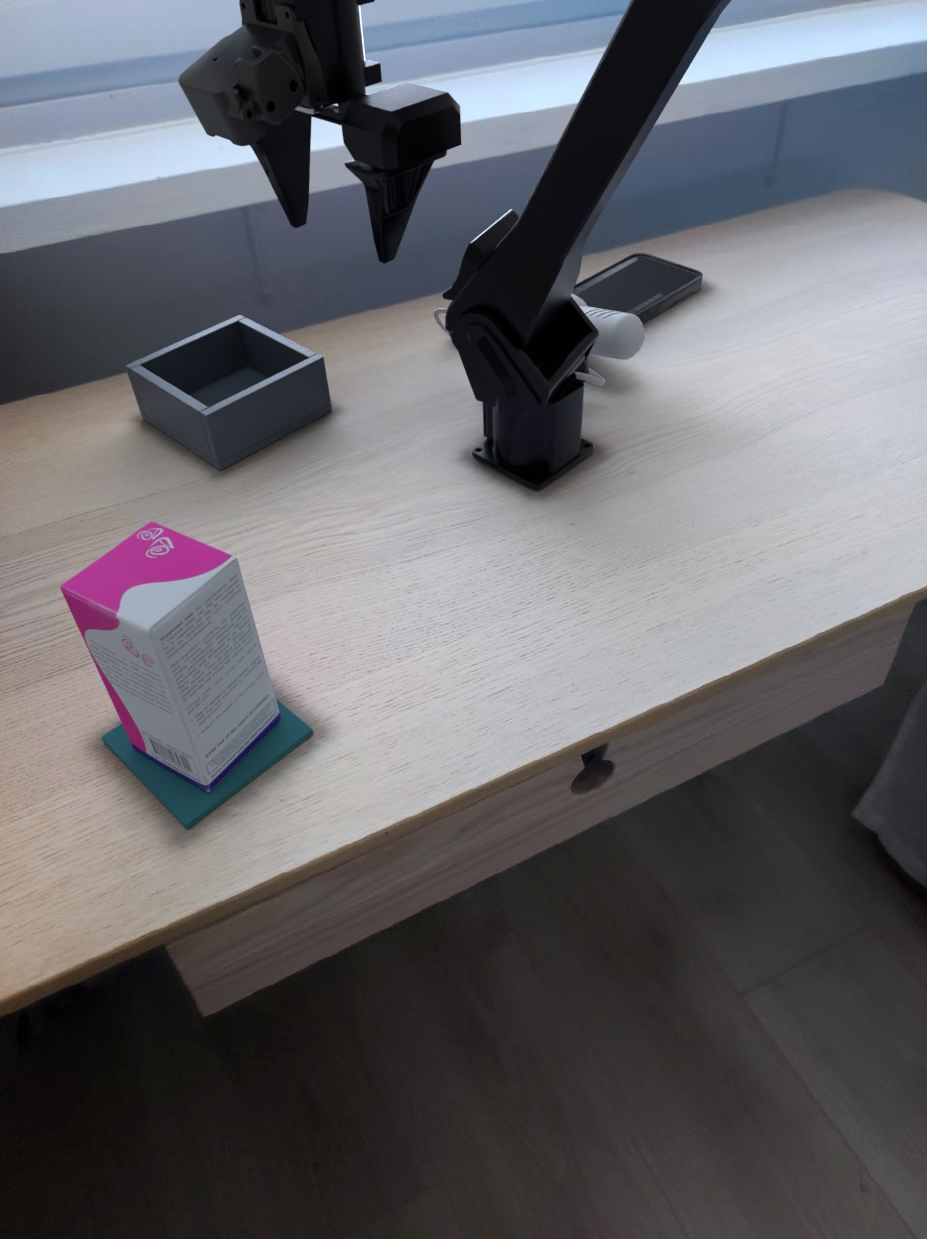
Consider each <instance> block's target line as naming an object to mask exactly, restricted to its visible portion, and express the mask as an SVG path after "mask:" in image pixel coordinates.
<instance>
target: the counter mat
mask: <svg viewBox="0 0 927 1239" xmlns="http://www.w3.org/2000/svg"><path fill="white" fill-rule="evenodd" d="M276 701H277V705H278V709H279V712H280V716H281V718H280V720H279V722H278V723H277V724H276V725H275V726H274V727H273V728H272V729H271V730H270V731H269V732H268V733H267V734H266V735H265V737H264V738H263V739H262V740H261V741H260V742H259V743H258V744H257V745H256V746H254V747H253V748H252V749H251V751H250V752H249V753H248V754H247V755H246V756H245V757H244V758H243V759H242V760H241V761H240V762H239V763H238V764H237V765H236V766H235V767H234V768H233V769H232V770H231V771H230V772H229V773H228V775H227V776H226V777H225V778H224V779H223V780H222V781H221V782H220V783H219V784H218V785H217V786H216V787H215V788H214V789H212V791H211V792H209V793H208V792H206V791H204V790H203V789H201V788H199V787H198V786H196V785H194V784H192V783H191V782H189V781H187V780H185V779H184V778H182V777H180V776H178V775H177V774H175V773H173V772H172V771H170V770H168V769H166V768H165V767H163V766H161V765H159V764H158V763H156V762H154V761H153V760H151V759H149V758H148V757H146V756H144V755H143V754H141V753H139V752H138V751H136V750H135V749H134V748H133V747H132V745H131V742H130V740H129V737H128V735H127V733H126V731H125V729H124V726H123V724H122V723H120V724H119V725H117V726H116V727H114V728H112V729H111V730H109V731H108V732H107V733H105V734H104V735H102V736H101V740H102V742H103V743H104V744H105V745H106V746H107V747H108V748H109V749H110V751H112V752H113V753H114V754H115V755H116V756H117V758H118V759H119V760H120V761H121V762H122V763H123V764H124V766H126V767H127V768H128V770H130V771H131V772H132V773H133V774H134V775H135V777H136V778H137V779H139V781H140V782H141V783H142V784H143V785H144V786H145V787H146V788H147V789H148V791H150V793H152V794H153V796H154V797H156V799H157V800H158V801H159V802H160V803H161V804H162V805H163V806H164V807H165V808H166V809H167V810H168V811H169V812H170V813H171V814H172V815H173V817H175V819H177V821H178V822H179V823H180V824H181V825H182V826H183V827H184V828H185V829H186V830H189V829H190V828H192V826H194V825H195V824H196V823H197V822H199V821H200V820H202V819H203V818H204V817H206V816H207V815H209V814H210V813H211V812H212V811H214V810H215V809H217V807H219V806H220V805H221V804H223V803H224V802H225V801H227V800H228V799H230V798H231V797H232V796H233V795H234V794H237V792H239V791H240V790H241V789H243V788H244V787H245V786H247V785H248V784H249V783H251V782H252V781H253V780H255V779H256V778H257V777H259V775H261V774H262V773H264V772H265V771H266V770H267V769H269V768H270V767H272V766H273V765H274V764H276V763H277V762H278V761H279V760H281V759H282V758H283V757H285V756H286V755H287V754H289V753H290V752H291V751H293V750H294V749H296V748H297V747H298V746H300V745H301V744H302V743H303V742H304V741H306V740H307V739H309V738H310V737H311V736H312V735H313V734H314V731H313V728H311V726H309V725H308V724H307V723H306V722H304V721H303V719H301V718H300V717H298V716H297V715H296V714H295V713H294V712H293V711H292V710H291V709H289V708H288V707H287V706H286V705H284V704H283V703H282V702H281V701H280V700H278V699H277V698H276Z"/></svg>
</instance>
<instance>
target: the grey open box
mask: <svg viewBox="0 0 927 1239" xmlns="http://www.w3.org/2000/svg"><path fill="white" fill-rule="evenodd" d="M124 367H125V370H126V373H127V377H128V380H129V382H130V385H131V388H132V391H133V394H134V397H135V400H136V403H137V406H138V410H139V412H140V415H141V419H143V420H144V421H146V422H147V423H149V424H150V425H152V426H153V427H155V428H156V429H158V430H160V431H161V432H162V433H163V434H165V435H167V436H168V437H170V438H171V439H172V440H174V441H176V442H177V443H179V444H180V445H182V446H183V447H185V448H186V449H187V450H188V451H191V452H192V453H194V454H195V455H197V456H198V457H200V458H201V459H202V460H204V461H206V462H207V463H209V464H210V465H211V466H213V467H215V468H216V469H217V470H219V471H223V470H225V469H226V468H229V467H230V466H232V465H234V464H236V463H237V462H240V461H241V460H243V459H245V458H247V457H249V456H251V455H253V454H254V453H256V452H258V451H260V450H261V449H263V448H265V447H267V446H269V445H271V444H273V443H275V442H277V441H278V440H279V439H282V438H284V437H286V436H287V435H289V434H291V433H293V432H295V431H296V430H298V429H300V428H302V427H305V426H306V425H308V424H310V423H311V422H313V421H315V420H316V419H319V418H321V417H322V416H324V415H327V414H329V413H330V412H332V411H333V407H332V400H331V394H330V388H329V382H328V375H327V370H326V363H325V358H324V356H323V355H320V354H318V353H316V352H314V351H312V350H310V349H308V348H306V347H304V346H303V345H301V344H299V343H297V342H295V341H293V340H290V339H289V338H287V337H286V336H285V337H284V336H283V335H281V334H280V333H277V332H275V331H273V330H271V329H269V328H267V327H265V326H263V325H261V324H259V323H257V322H255V321H254V320H252V319H249V318H248V317H245V316H243V315H241V314H238V315H236V316H233V317H231V318H229V319H227V320H225V321H222V322H219V323H218V324H216V325H213V326H211V327H209V328H206V329H204V330H202V331H200V332H197V333H195V334H193V335H190V336H189V337H186V338H184V339H182V340H180V341H177V342H175V343H172V344H170V345H168V346H165V347H164V348H162V349H159V350H157V351H155V352H153V353H150V354H148V355H146V356H143V357H141V358H139V359H137V360H134V361H132V362H130V363H127V364H125V365H124Z"/></svg>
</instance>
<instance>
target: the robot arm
mask: <svg viewBox="0 0 927 1239" xmlns="http://www.w3.org/2000/svg"><path fill="white" fill-rule="evenodd" d="M375 1H376V0H238V2H239V3H238V4H239V11H240V17H241V26H240V27H239V28H237V29H236V30H234V32H232V33H231V34H228V35H226V36H225V37H222V38H221V39H220V40H218V41H217V42H216V43H215V44H213V45H212V46H211V47H210V48H209V49H208V50H207V51H206V52H204V53H203V54H202V55H201V56H200V57H199V58H197V59H196V60H195V61H194V62H192V64H190V65H189V66H188V67H187V68H186V69H185V70H183V71H182V72H181V73H180V74H179V76H178V79H177V83H178V85H179V87H180V88H181V90H182V92H183V94H184V96H185V98H186V99H187V101H188V103H189V105H190V107H191V109H192V110H193V112H194V114H195V116H196V118H197V119H198V122H199V123H200V126H201V127H202V128H203V130H204V132H205V134H206V135H207V136H209V137H212V138H214V137H216V136H217V137H220V138H222V139H226V140H228V141H229V142H231V144H233V145H235V146H238V147H247V146H249V147H250V148H251V149H252V151H253V153H254V154H255V156H256V158H257V160H258V162H259V163H260V164H259V165H260V166H261V167H262V169H263V171H264V173H265V175H266V177H267V180H268V182H269V184H270V186H271V187H272V190H273V192H274V194H275V195H276V198H277V200H278V202H279V204H280V206H281V208H282V210H283V212H284V215H285V216H286V219H287V221H288V223H289V224H290V226H291V227H292V228H295V229H299V228H301V227H303V226H305V225H306V224H307V221H308V212H309V203H310V202H309V201H310V182H311V181H310V180H311V178H310V176H311V175H310V174H311V148H312V147H311V146H312V121H313V120H312V119H313V118H315V119H319V120H321V121H324V122H329V123H331V124H335V125H338V126H341V133H342V142H343V144H344V146H345V148H346V149H347V151H348V152H349V154H350V156H351V158H352V159H351V160H348V161H346V162H344V163H343V164H344V167H345V168H346V169H347V170H348V171H350V173H351V174H352V175H354V176H355V177H356V178H357V179H358V180H359V181H360V182H361V183H362V184H363V186H364V190H365V197H366V204H367V209H368V214H369V220H370V226H371V232H372V239H373V243H374V247H375V251H376V254H377V258H378V261H379V262H380V263H381V264H387V263H390V262H392V261H393V260H395V259H396V256H397V254H398V251H399V249H400V246H401V243H402V240H403V237H404V235H405V232H406V230H407V226H408V223H409V222H410V219H411V216H412V212H413V210H414V208H415V204H416V202H417V200H418V197H419V194H420V192H421V191H422V188H423V186H424V184H425V181H426V179H427V178H428V175H429V174H430V172H431V169H432V167H433V165H434V163H435V161H437V160H440V159H443V158H446V156H447V154H448V151H449V150H452V149H454V148H457V147H459V146H461V145H462V120H461V119H462V118H461V105H460V104H459V103H458V102H457V101H456V99H455V98H454V96H452V94H450V93H449V91H445V90H442V89H437V88H433V87H428V86H425V85H420V84H416V83H412V82H408V81H406V82H404V83H401V84H397V85H394V86H392V87H388V88H386V89H382V90H379V91H376V92H373V93H370V94H367V87H370V86H374V85H376V84H380V83H382V82H383V76H382V67H381V66H382V64H381V62H378V61H373V60H369V59H366V53H365V52H366V51H365V44H364V43H365V42H364V32H363V23H362V22H363V21H362V13H361V6H363V5H366V4H370V3H375ZM731 2H732V0H630V1H629V3H628V5H627V6H626V8H625V11H624V13H623V14H622V16H621V19H620V20H619V22H618V23H617V26H616V28H615V30H614V32H613V34H612V36H611V38H610V40H609V42H608V44H607V46H606V48H605V50H604V52H603V54H602V56H601V58H600V60H598V63H597V65H596V67H595V69H594V71H593V73H592V75H591V77H590V79H589V81H588V83H587V85H586V87H585V89H584V90H583V93H582V95H581V96H580V98H579V99H578V103H577V105H576V106H575V109H574V110H573V112H572V114H571V116H570V118H569V120H568V121H567V124H566V126H565V127H564V129H563V131H562V134H561V136H560V137H559V139H558V141H557V143H556V145H555V147H554V149H553V151H552V153H551V155H550V157H549V158H548V161H547V163H546V165H545V167H544V169H543V171H542V173H541V174H540V176H539V178H538V180H537V182H536V184H535V186H534V188H533V190H532V192H531V194H530V196H529V198H528V199H527V202H526V204H525V206H524V208H523V209H522V211H521V214H520V215H519V214H518V213H517V212H516V211H515V210H514V209H512V208H510V209H509V210H508V211H507V212H506V213H504V214H503V215H502V216H501V217H500V218H498V219H497V220H496V221H495V222H493V223H492V224H491V225H490V226H489V227H488V228H486V229H485V230H484V231H483V232H481V233H480V234H479V235H478V236H477V237H475V238H474V239H473V240H472V241H470V242H469V244H468V245H467V247H466V248H465V251H464V254H463V257H462V258H461V262H460V267H459V271H458V274H457V277H456V279H455V281H454V282H453V283H452V285H451V286H450V287H449V288H448V289H446V291H444V292H443V293H442V294H441V295H442V298H443V300H448V301H451V302H450V303H449V304H448V307H447V308H446V309H447V313H445V316H444V326H445V328H446V330H447V331H448V332H449V334H450V336H449V337H450V340H451V342H452V344H453V346H454V348H455V349H456V351H457V353H458V356H459V358H460V361H461V363H462V366H463V369H464V371H465V374H466V377H467V380H468V382H469V385H470V387H471V390H472V393H473V395H474V398H475V400H476V401H477V402H480V403H482V426H483V430H482V431H483V437H485V438H486V439H485V440H483V441H482V442H480V443H479V444H477V445H475V446H474V447H473V448H472V449H471V456H472V458H473V459H476V460H478V461H479V462H481V463H483V464H485V465H487V466H489V467H490V468H493V469H495V470H496V471H498V472H499V473H501V474H504V475H506V476H508V477H510V478H512V479H514V480H516V481H517V482H519V483H521V484H523V485H524V486H527V487H529V488H531V489H533V490H541V489H543V488H545V486H547V485H548V484H550V483H552V482H553V481H554V480H556V479H557V478H558V477H560V476H561V475H563V474H564V473H566V472H567V471H568V470H570V469H571V468H573V467H574V466H576V465H578V464H579V463H580V462H582V460H584V459H586V458H587V457H588V456H590V455H591V454H592V453H593V452H594V447H595V445H594V443H592V442H591V441H589V440H587V439H585V438H582V429H583V428H582V427H583V426H582V425H583V412H584V398H585V382H584V383H583V382H581V381H579V380H577V378H576V374H575V372H574V371H575V370H576V369H577V368H578V366H579V365H580V364H581V363H582V362H583V360H585V359H587V360H588V358H589V357H590V356H591V354H590V353H591V351H592V349H593V347H594V345H595V343H596V341H597V339H598V337H599V331H598V330H597V328H596V327H595V326H594V325H593V323H592V322H591V321H590V319H589V318H588V317H587V316H586V314H585V313H584V312H583V311H582V309H581V308H580V307H579V305H578V304H577V303H576V302H575V300H574V299H573V298H572V296H571V295H572V292H573V289H574V287H575V284H577V281H578V278H579V276H580V273H581V268H582V267H581V266H582V261H583V256H584V251H585V250H584V249H585V245H586V242H587V240H588V237H589V235H590V234H591V232H592V231H593V229H594V227H595V225H596V224H597V222H598V221H599V218H600V217H601V215H602V214H603V212H604V210H605V209H606V207H607V205H608V203H609V202H610V200H611V198H612V197H613V195H614V193H615V192H616V190H617V188H618V187H619V185H620V183H621V182H622V180H623V178H624V177H625V176H626V173H627V172H628V170H629V168H630V167H631V165H632V163H633V162H634V160H635V159H636V157H637V155H638V153H639V152H640V151H641V148H642V146H643V145H644V144H645V142H646V140H647V138H648V137H649V135H650V133H651V131H652V130H653V128H654V127H655V125H656V123H657V121H658V119H659V118H660V116H661V115H662V113H663V111H664V109H665V108H666V106H667V105H668V103H669V101H670V100H671V98H672V96H673V95H674V93H675V91H676V90H677V88H678V86H679V85H680V83H681V81H682V79H683V78H684V76H685V74H686V73H687V71H688V70H689V68H690V66H691V64H692V63H693V62H694V60H695V58H696V56H697V54H698V53H699V51H700V49H701V48H702V46H703V45H704V43H705V41H706V40H707V38H708V36H709V35H710V33H711V31H712V29H713V28H714V26H715V24H716V23H717V21H718V19H719V18H720V16H721V15H722V13H723V11H724V10H725V9H726V8H727V7H728V5H729V4H730V3H731Z"/></svg>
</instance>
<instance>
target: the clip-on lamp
mask: <svg viewBox="0 0 927 1239" xmlns="http://www.w3.org/2000/svg"><path fill="white" fill-rule="evenodd" d="M571 296H572V298H573V299H574V300H575V302H576V303H577V304H578V305H579V307H580V308H581V309H582V311H583V312H584V313H585V314H586V316H587V317H588V318H589V319H590V321H591V322H592V323H593V325H594V326H595V327H596V328H597V330H598V331H599V337H598V339H597V341H596V343H595V345H594V347H593V349H592V351H591V353H590V355H591V356H598V357H602V358H603V357H604V358H609V359H615V360H621V361H622V360H624V361H625V360H630V359H631V358H633V357H635V356H636V355H637V354H638V353H639V352H640V350H642V347H643V345H644V343H645V342H644V341H645V334H646V332H645V331H646V330H645V327H644V323H642V322H641V320H640V319H639V318H638V317H637V316H636V315H634V314H630V313H624V312H618V311H612V310H606V309H600V308H594V307H588V306H587V305H586V303H585V302H584V301H583V300H582V299H581V298H579V297H577V296H576V295H574V294H572V295H571ZM447 309H448V308H443V307H442V308H441V307H440V308H439V307H438V308H436V309H434V311H433V317H434V319H435V321H436V323H437V325H438V326H439V327H440V329H441V330H442V331H443V332H444V333H445V334H446V335H448V336H449V337H450V334H449V332H448V331H447V330H446V328H445V324H443V322H442V321H441V319H440V317H439V315H440V314H446V313H447ZM574 372H575V374H576V378H577V380H579V381H581V382H583V383H584V384H585V382H589V383H591V384H594V385H595V386H598V387H603V386H604V385H605V383H606V379H605V378H604V377H603V376H601V375H600V374H599V373H598V372H597V371H596V370H593V369H592V368H591V367H589V363H588V358H587V359H585V360H583V362H582V363H581V364H580V365H579V366H578V368H577V369H576V370H575V371H574Z"/></svg>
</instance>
